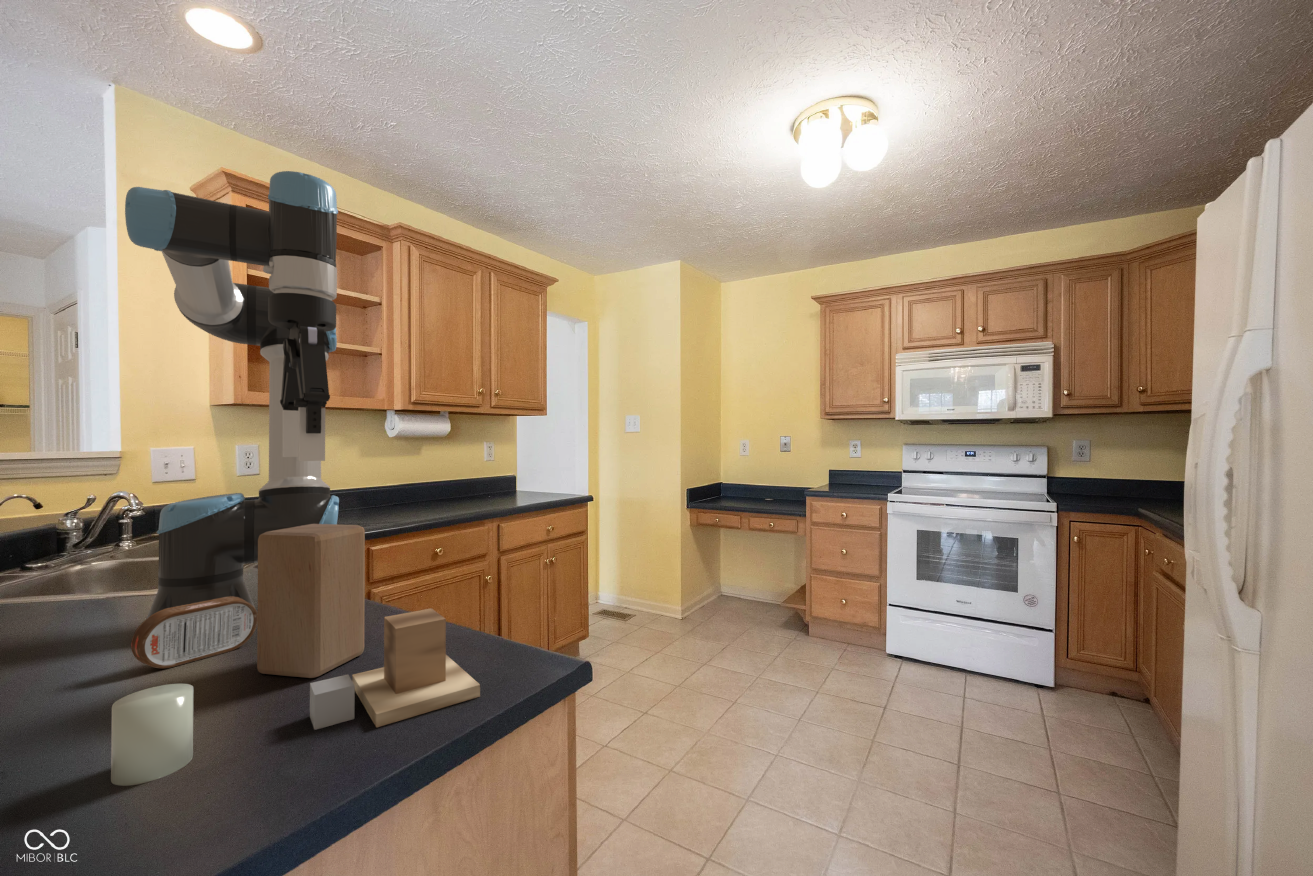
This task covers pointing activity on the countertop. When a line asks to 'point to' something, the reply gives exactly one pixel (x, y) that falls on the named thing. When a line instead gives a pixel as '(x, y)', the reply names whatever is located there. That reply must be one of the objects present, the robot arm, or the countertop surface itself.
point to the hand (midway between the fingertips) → (302, 459)
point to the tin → (194, 632)
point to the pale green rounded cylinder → (151, 734)
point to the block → (310, 599)
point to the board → (412, 694)
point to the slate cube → (332, 701)
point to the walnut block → (414, 650)
